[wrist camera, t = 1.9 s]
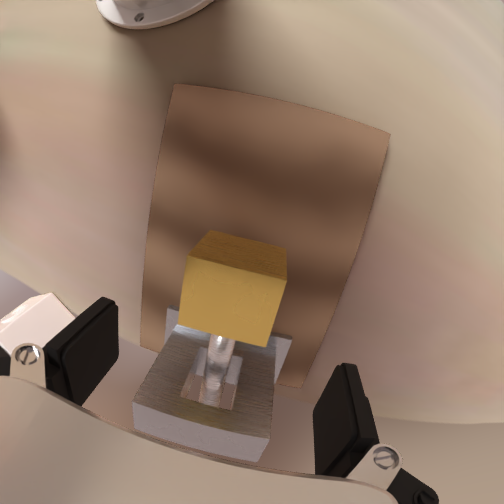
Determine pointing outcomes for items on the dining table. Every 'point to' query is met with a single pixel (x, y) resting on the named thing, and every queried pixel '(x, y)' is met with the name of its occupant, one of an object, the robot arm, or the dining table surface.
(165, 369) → the brushed steel socket base
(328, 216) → the copper board
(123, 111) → the dining table surface
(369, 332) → the dining table surface
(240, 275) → the yellow block headed rod
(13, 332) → the jar
